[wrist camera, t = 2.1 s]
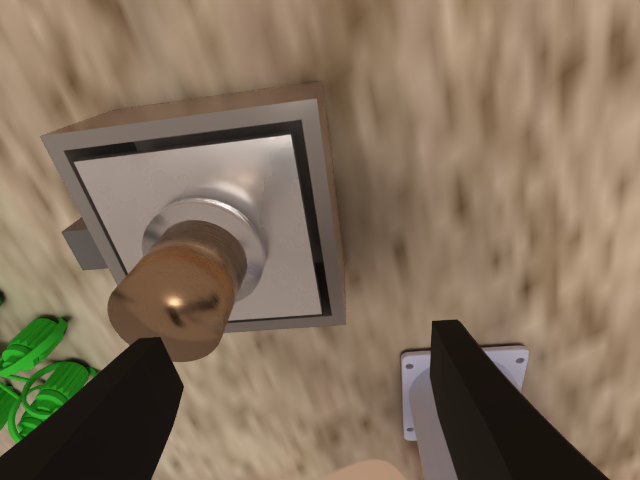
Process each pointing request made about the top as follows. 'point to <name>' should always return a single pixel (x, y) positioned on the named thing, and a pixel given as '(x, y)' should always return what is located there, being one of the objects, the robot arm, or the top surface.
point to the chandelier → (37, 376)
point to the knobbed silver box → (204, 126)
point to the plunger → (205, 238)
